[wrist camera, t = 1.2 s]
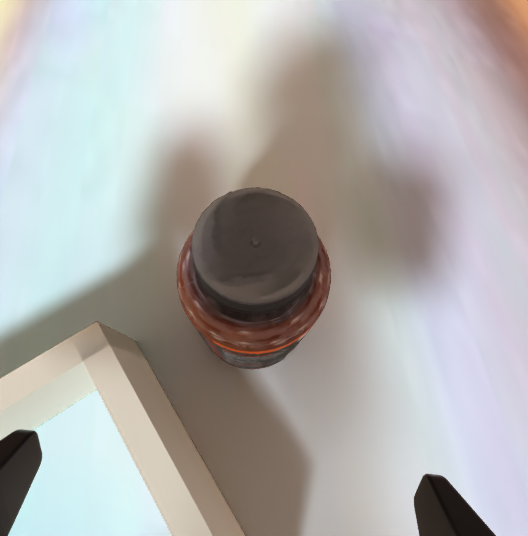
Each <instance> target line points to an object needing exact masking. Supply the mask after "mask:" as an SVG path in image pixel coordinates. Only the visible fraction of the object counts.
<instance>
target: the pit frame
mask: <svg viewBox="0 0 528 536" xmlns="http://www.w3.org/2000/svg"><path fill="white" fill-rule="evenodd" d="M96 390H98V392H99V394H100V396H101V398H102V400H103V402H104V404H105V406H106V408H107V410H108V412H109V413H110V415H111V417H112V419H113V421H114V423H115V425H116V427H117V429H118V431H119V433H120V435H121V437H122V439H123V441H124V443H125V445H126V447H127V449H128V451H129V452H130V454H131V456H132V458H133V460H134V462H135V464H136V466H137V468H138V470H139V472H140V474H141V476H142V478H143V480H144V482H145V484H146V486H147V488H148V489H149V491H150V493H151V495H152V497H153V499H154V501H155V503H156V505H157V507H158V509H159V511H160V513H161V515H162V517H163V519H164V521H165V523H166V525H167V527H168V528H169V530H170V532H171V534H172V536H245V534H244V533H243V531H242V529H241V527H240V525H239V524H238V522H237V520H236V518H235V517H234V515H233V513H232V511H231V509H230V508H229V506H228V504H227V502H226V501H225V499H224V497H223V495H222V493H221V492H220V490H219V488H218V486H217V485H216V483H215V481H214V479H213V478H212V476H211V474H210V472H209V470H208V469H207V467H206V465H205V463H204V462H203V460H202V458H201V456H200V454H199V453H198V451H197V449H196V447H195V446H194V444H193V442H192V440H191V438H190V437H189V435H188V433H187V431H186V430H185V428H184V426H183V424H182V422H181V421H180V419H179V417H178V415H177V414H176V412H175V410H174V408H173V407H172V405H171V403H170V401H169V399H168V398H167V396H166V394H165V392H164V391H163V389H162V387H161V385H160V383H159V382H158V380H157V378H156V376H155V375H154V373H153V371H152V369H151V367H150V366H149V364H148V362H147V360H146V359H145V357H144V355H143V353H142V351H141V350H140V348H139V346H138V344H137V343H136V341H135V340H133V339H131V338H129V337H127V336H125V335H123V334H121V333H119V332H117V331H115V330H113V329H111V328H109V327H107V326H105V325H103V324H101V323H99V322H97V321H96V322H95V323H93V324H91V325H90V326H88V327H86V328H85V329H83V330H81V331H79V332H78V333H76V334H74V335H73V336H71V337H69V338H68V339H66V340H64V341H63V342H61V343H59V344H58V345H56V346H54V347H52V348H51V349H49V350H47V351H46V352H44V353H42V354H41V355H39V356H37V357H36V358H34V359H32V360H31V361H29V362H27V363H26V364H24V365H22V366H20V367H19V368H17V369H15V370H14V371H12V372H10V373H9V374H7V375H5V376H4V377H2V378H0V440H1V439H3V438H4V437H6V436H7V435H9V434H10V433H12V432H13V431H16V430H18V429H23V430H32V431H33V430H34V429H36V428H37V427H39V426H41V425H42V424H44V423H45V422H47V421H48V420H50V419H52V418H53V417H55V416H56V415H58V414H59V413H61V412H63V411H64V410H66V409H67V408H69V407H70V406H72V405H74V404H75V403H77V402H78V401H80V400H81V399H83V398H85V397H86V396H88V395H89V394H91V393H92V392H94V391H96Z"/></svg>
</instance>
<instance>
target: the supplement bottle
mask: <svg viewBox="0 0 528 536" xmlns="http://www.w3.org/2000/svg"><path fill="white" fill-rule="evenodd" d="M330 283H331V269H330V263H329V258H328V255H327V251H326V249H325V247H324V246H323V244H322V242H321V240H320V238H319V237H318V235H317V232H316V228H315V226H314V224H313V222H312V220H311V218H310V217H309V215H308V214H307V212H306V211H305V210H304V209H303V207H302V206H301V205H299V204H298V203H297V202H296V201H295V200H293V199H291V198H290V197H288V196H286V195H284V194H282V193H280V192H278V191H274V190H270V189H264V188H258V187H256V188H246V189H241V190H236V191H234V192H229V193H227V194H226V195H224V196H222V197H220V198H218V199H217V200H215V201H214V202H212V203H211V205H210V206H209V207H208V208H207V209H206V210H205V211H204V212H203V213H202V215H201V217H200V218H199V220H198V221H197V223H196V226H195V229H194V231H193V232H192V233H191V234H190V235H189V237H188V239H187V241H186V242H185V244H184V247H183V249H182V251H181V253H180V257H179V262H178V267H177V287H178V292H179V296H180V300H181V303H182V306H183V308H184V310H185V312H186V314H187V316H188V317H189V319H190V320H191V322H192V323H193V325H194V326H195V327H196V329H197V330H198V332H199V333H200V335H201V336H202V337H203V339H204V340H205V342H206V343H207V344H208V346H209V347H210V348H211V350H212V351H214V352H215V353H216V354H217V355H218V356H219V357H220V358H221V359H223V360H224V361H226V362H227V363H229V364H231V365H233V366H236V367H240V368H245V369H259V368H265V367H269V366H271V365H274V364H276V363H278V362H279V361H281V360H283V359H284V358H285V357H286V356H288V355H289V354H290V353H291V352H292V351H293V349H294V348H295V347H296V346H297V344H298V343H299V342H300V341H301V340H302V338H303V337H304V336H305V335H306V333H307V332H308V331H309V329H310V328H311V327H312V326H313V324H314V323H315V322H316V320H317V319H318V317H319V316H320V314H321V313H322V311H323V309H324V307H325V304H326V301H327V298H328V294H329V289H330Z"/></svg>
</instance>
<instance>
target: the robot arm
mask: <svg viewBox="0 0 528 536" xmlns="http://www.w3.org/2000/svg"><path fill="white" fill-rule="evenodd" d="M41 461H42V451H41V447H40V443H39V438H38V434H37V433H36V432H35V431H32V430H23V429H18V430H16V431H13V432H12V433H10V434H9V435H7V436H6V437H4V438H3V439H1V440H0V536H8V534H9V532H10V530H11V528H12V526H13V523H14V521H15V519H16V517H17V515H18V512H19V510H20V508H21V506H22V504H23V502H24V499H25V497H26V495H27V493H28V491H29V488H30V486H31V484H32V482H33V480H34V477H35V475H36V473H37V471H38V469H39V466H40V464H41ZM414 507H415V513H416V519H417V525H418V530H419V536H496V535H495V534H494V533H493V532H492V531H491V530H490V528H489V527H488V526H487V525H486V524H485V523H484V522H483V520H482V519H481V518H480V517H479V516H478V515H477V513H476V512H475V511H474V510H473V509H472V508H471V507H470V505H469V504H468V503H467V502H466V501H465V500H464V499H463V497H462V496H461V495H460V494H459V493H458V492H457V491H456V489H455V488H454V487H453V486H452V485H451V484H450V483H449V481H448V480H447V479H446V478H445V477H443V476H441V475H434V474H425V475H424V476H423V477H422V480H421V482H420V484H419V486H418V489H417V491H416V493H415V496H414Z"/></svg>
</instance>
